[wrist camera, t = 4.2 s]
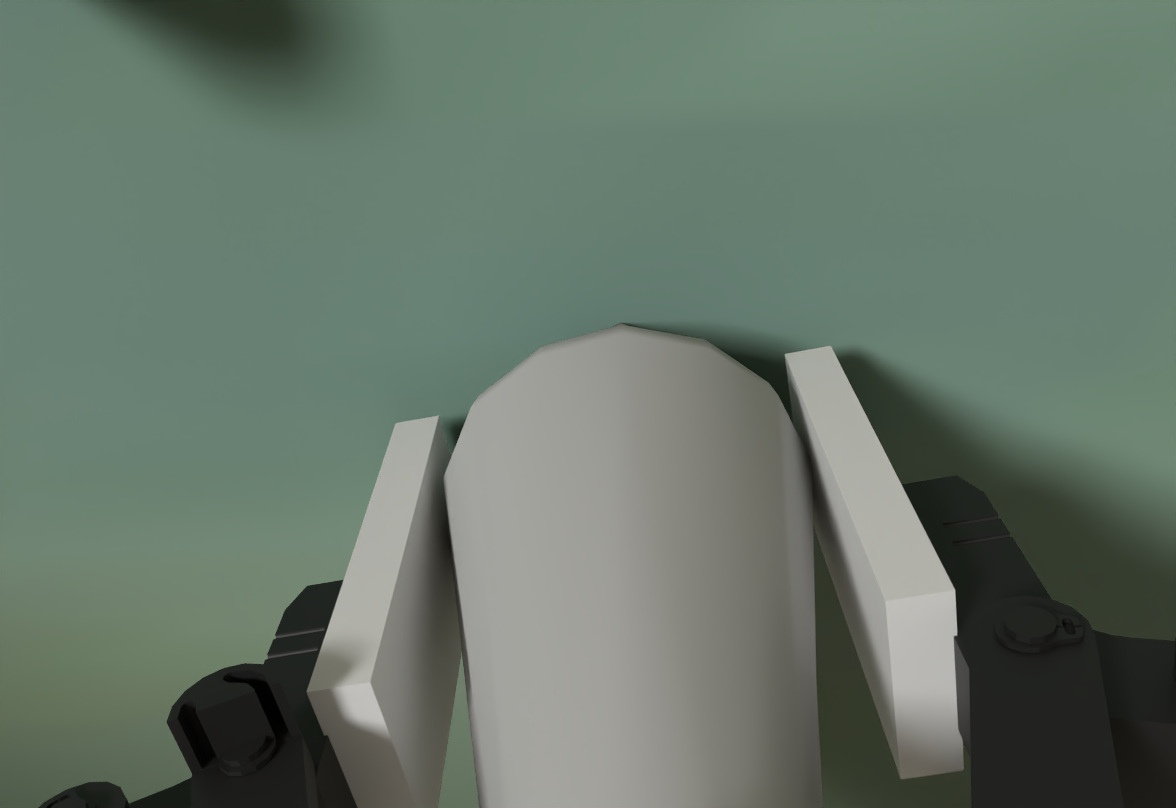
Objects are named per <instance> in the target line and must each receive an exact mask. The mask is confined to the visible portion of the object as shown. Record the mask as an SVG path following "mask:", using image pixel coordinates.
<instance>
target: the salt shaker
mask: <svg viewBox="0 0 1176 808" xmlns="http://www.w3.org/2000/svg"><path fill="white" fill-rule="evenodd" d="M443 481H444V491H445V502H446V512H447V522H448V532H449V541H450V550H451V560H452V569H453V578H454V587H455V595H456V604H457V613H458V622H459V631H460V639H461V648H462V657H463V666H464V675H465V683H466V692H467V701H468V710H469V719H470V727H471V736H472V745H473V754H474V763H475V771H476V780H477V789H478V798H479V807H480V808H823V792H822V773H821V755H820V737H819V718H818V700H817V681H816V635H815V583H814V531H813V479H812V465H811V461H810V457H809V455H808V453H807V451H806V449H805V447H804V445H803V443H802V441H801V439H800V437H799V435H798V433H797V432H796V430H795V428H794V426H793V424H792V422H791V420H790V418H789V416H788V414H787V412H786V410H785V408H784V406H783V404H782V402H781V400H780V398H779V396H778V394H777V393H776V392H775V390H774V389H773V388H772V386H771V385H770V384H769V383H768V382H767V381H765V380H764V379H762V378H761V377H760V376H758V375H757V374H755V373H754V372H752V371H751V370H749V369H748V368H746V367H745V366H743V365H742V364H740V363H739V362H737V361H736V360H734V359H733V358H731V357H730V356H729V355H727V354H726V353H724V352H723V351H721V350H720V349H718V348H717V347H715V346H714V345H712V344H711V343H709V342H708V341H706V340H705V339H700V338H694V337H689V336H683V335H677V334H672V333H666V332H660V331H655V330H649V329H643V328H638V327H632V326H628V325H625V324H623V323H619V324H617V325H615V326H613V327H611V328H607V329H603V330H600V331H596V332H592V333H589V334H585V335H581V336H578V337H574V338H570V339H567V340H563V341H560V342H556V343H552V344H549V345H545V346H541V347H540V348H539V349H537V350H536V351H535V352H534V353H532V354H531V355H530V356H528V357H527V358H526V359H525V360H523V361H522V362H521V363H520V364H518V365H517V366H516V367H514V368H513V369H512V370H511V371H509V372H508V373H507V374H505V375H504V376H503V377H502V378H500V379H499V380H498V381H497V382H495V383H494V384H493V385H491V386H490V387H489V388H488V389H486V390H485V391H484V392H482V393H481V394H480V395H479V396H478V397H477V399H476V401H475V402H474V404H473V405H472V407H471V408H470V411H469V413H468V416H467V418H466V421H465V424H464V426H463V429H462V431H461V434H460V436H459V439H458V441H457V444H456V447H455V449H454V452H453V454H452V457H451V459H450V462H449V464H448V467H447V469H446V472H445V475H444V477H443Z"/></svg>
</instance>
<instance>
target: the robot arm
mask: <svg viewBox="0 0 1176 808" xmlns="http://www.w3.org/2000/svg"><path fill="white" fill-rule="evenodd" d="M785 362H786V370H787V378H788V386H789V394H790V402H791V410H792V418H793V426H794V428H795V430H796V432H797V433H798V435H799V437H800V439H801V441H802V443H803V445H804V447H805V449H806V451H807V453H808V455H809V457H810V461H811V465H812V479H813V527H814V530H815V533H816V536H817V539H818V542H819V544H820V547H821V550H822V553H823V556H824V559H825V562H826V565H827V568H828V571H829V573H830V576H831V579H832V582H833V585H834V588H835V591H836V594H837V597H838V599H839V602H840V605H841V608H842V611H843V614H844V617H845V620H846V623H847V626H848V628H849V631H850V634H851V637H852V640H853V643H854V646H855V649H856V652H857V655H858V657H859V660H860V663H861V666H862V669H863V672H864V675H865V678H866V681H867V683H868V686H869V689H870V692H871V695H872V698H873V701H874V704H875V707H876V710H877V712H878V715H879V718H880V721H881V724H882V727H883V730H884V733H885V736H886V738H887V741H888V744H889V747H890V750H891V753H892V756H893V759H894V762H895V765H896V767H897V770H898V773H899V776H900V779H908V778H915V777H922V776H929V775H936V774H943V773H950V772H957V771H964V760H963V742H964V744H965V746H966V749H967V751H968V753H969V756H970V758H971V796H972V808H1176V640H1175V641H1167V640H1152V639H1138V638H1128V637H1121V636H1113V635H1109V634H1105V633H1102V632H1099V631H1095V630H1092V628H1091V626H1090V624H1089V622H1088V620H1087V619H1086V618H1084V617H1083V616H1082V615H1081V614H1079V613H1078V612H1077V611H1076V610H1074V609H1073V608H1072V607H1069V606H1067V605H1064V604H1062V603H1059V602H1057V601H1054V600H1052V599H1051V598H1050V596H1049V594H1048V593H1047V591H1046V590H1045V588H1044V587H1043V585H1042V583H1041V582H1040V580H1039V579H1038V577H1037V576H1036V574H1035V572H1034V571H1033V569H1032V568H1031V566H1030V565H1029V563H1028V561H1027V560H1026V558H1025V557H1024V555H1023V553H1022V552H1021V550H1020V549H1019V547H1018V546H1017V544H1016V542H1015V541H1014V539H1013V538H1012V537H1010V534H1009V531H1008V530H1007V528H1006V527H1005V525H1004V524H1003V522H1002V520H1001V519H999V518H998V514H997V512H996V511H995V509H994V508H993V506H992V505H991V503H990V501H989V500H988V498H987V497H986V495H985V494H984V492H982V491H981V490H979V489H977V488H976V487H974V486H973V485H971V484H969V483H968V482H966V481H965V480H963V479H961V478H960V477H958V476H951V477H945V478H939V479H933V480H927V481H921V482H915V483H909V484H903V485H901V483H900V481H899V479H898V477H897V475H896V473H895V471H894V469H893V467H892V465H891V463H890V461H889V459H888V457H887V455H886V453H885V451H884V449H883V447H882V446H881V444H880V442H879V440H878V438H877V436H876V434H875V432H874V430H873V428H872V426H871V424H870V422H869V420H868V418H867V416H866V414H865V412H864V410H863V408H862V406H861V404H860V402H859V400H858V398H857V396H856V395H855V393H854V391H853V389H852V387H851V385H850V383H849V381H848V379H847V377H846V375H845V373H844V371H843V369H842V367H841V365H840V363H839V361H838V359H837V357H836V355H835V353H834V351H833V349H832V347H831V346H827V347H821V348H816V349H810V350H804V351H799V352H793V353H787V354H785ZM450 459H451V455H450V451H449V448H448V444H447V441H446V438H445V434H444V431H443V427H442V424H441V421H440V417H439V416H434V417H428V418H422V419H417V420H411V421H406V422H400V423H396V424H395V427H394V430H393V433H392V436H391V439H390V442H389V445H388V448H387V451H386V454H385V457H384V460H383V463H382V466H381V469H380V472H379V475H378V478H377V481H376V484H375V487H374V490H373V493H372V496H371V499H370V502H369V505H368V508H367V511H366V514H365V517H364V520H363V523H362V526H361V529H360V532H359V535H358V538H357V541H356V544H355V547H354V550H353V553H352V556H351V559H350V562H349V565H348V568H347V571H346V574H345V577H344V580H340V581H334V582H328V583H322V584H316V585H310V586H307V587H306V588H305V589H304V590H303V591H302V592H301V593H300V594H299V595H298V596H297V598H296V599H295V600H294V601H293V602H292V603H291V604H290V605H289V606H288V607H287V608H286V610H285V612H284V614H283V617H282V619H281V622H280V624H279V627H278V629H277V632H276V634H275V635H276V639H274V640H273V642H272V644H271V647H270V649H269V652H268V654H267V655H268V659H267V660H265V662H264V664H246V663H245V664H240V665H236V666H231V667H227V668H223V669H221V670H219V671H217V672H215V673H212V674H210V675H208V676H206V677H204V678H202V679H201V680H200V681H198V682H197V683H196V684H194V685H193V686H191V687H190V688H189V689H187V690H186V691H185V692H184V693H183V694H182V695H181V697H180V698H179V699H178V700H177V701H176V703H175V704H174V705H173V706H172V708H171V711H170V714H169V717H168V720H167V724H168V726H169V728H170V730H171V732H172V734H173V736H174V738H175V740H176V742H177V744H178V746H179V748H180V750H181V752H182V754H183V756H184V758H185V760H186V762H187V764H188V766H189V768H190V770H191V772H192V777H191V778H190V779H188V780H185V781H183V782H181V783H179V784H177V785H175V786H173V787H170V788H168V789H165V790H163V791H160V792H158V793H155V794H152V795H150V796H147V797H145V798H142V799H140V800H137V801H135V802H132V803H130V804H129V803H128V801H127V799H126V797H125V795H124V793H123V792H122V790H121V788H120V787H118V786H116V785H114V784H111V783H109V782H88V783H85V784H82V785H79V786H76V787H73V788H70V789H67V790H65V791H63V792H62V793H60V794H58V795H56V796H54V797H53V798H51V799H49V800H48V801H46V802H44V803H43V804H42V805H41V806H40V807H39V808H438V802H439V796H440V789H441V783H442V776H443V770H444V763H445V757H446V750H447V744H448V737H449V730H450V724H451V717H452V711H453V704H454V698H455V691H456V685H457V678H458V672H459V665H460V658H461V652H462V648H461V639H460V631H459V622H458V613H457V604H456V595H455V587H454V578H453V569H452V560H451V550H450V541H449V532H448V522H447V512H446V502H445V491H444V481H443V477H444V475H445V472H446V469H447V467H448V464H449V462H450ZM962 739H963V740H962Z"/></svg>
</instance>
